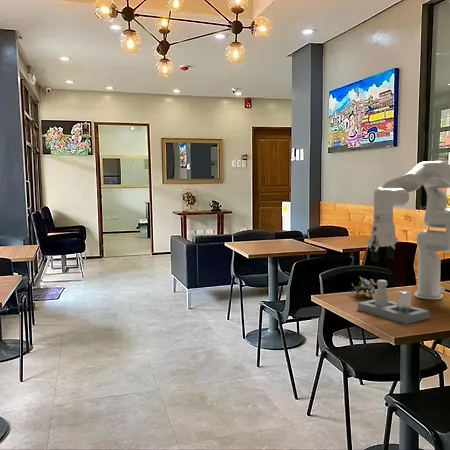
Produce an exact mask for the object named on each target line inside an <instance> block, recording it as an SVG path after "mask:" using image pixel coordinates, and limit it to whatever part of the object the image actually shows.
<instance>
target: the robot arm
mask: <svg viewBox="0 0 450 450" xmlns="http://www.w3.org/2000/svg"><path fill="white" fill-rule="evenodd" d="M422 186H423V188H424V190H425V192H426V195H427V202H426V208H425V212H424V218H423V221H424V225H425V226H426V227H428V228H433V230H432V229H424V230H421V231H420V232H419V233H418V234H417V235H416V245H417V246H416V247H417V250H418V251H417V253H418V264H417V265H418V266H417V267H418V268H417V291H415V292H414V294H413V296H414V297H416V298H419V299H422V300H442V299H444V294H443V293H441V292H444V291H445V290H446V289H445V287H444V286H441V263H442V261H441V257H440V255H439V254H438V252H441V253H450V207H447V206H448V196H447V194H446V192H445V191H444V190H443V189H444V188H445V189H448V188H449V189H450V164H449V163H447V162H446V161H443V160H434V161H433V160H432V161H431V160H430V161H421V162H418V163H417V164H416V165H414V166H413V167H412V168H411V169H410V170H408V171H407V172H406V173H405V174H403V175H401V176H398V177H395V178H392V179H390V180H387V181H386V182H384V183H382V184H381V185H380V186H378V188H377V189H375V190H374V192H373V218H372V219H373V223H372V225H371V227H372V228H371V234H370V235H371V236H370V238H369V239H368V240H366V241H367V245H368V248H369V251H370V260H371V261H372V262H378V261H379V248H380V247H381V248H383V247H385V248H386V247H387V249H386V258H387V259H391V260H394V259H395V250H396V247H397V243H398V241H399V239H398V238H397V236H396V227H395V222H394V219H393V217H394V207H402V206H405V205H406V204H407V203H408V202H409V200H410V194H409V193H412V192H415V191H417V190H419V189H420V188H421V187H422ZM435 229H444V230H435Z"/></svg>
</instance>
